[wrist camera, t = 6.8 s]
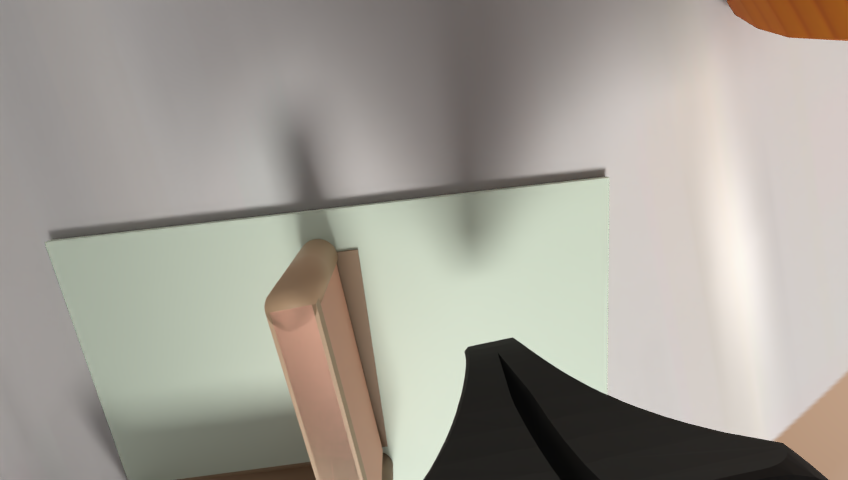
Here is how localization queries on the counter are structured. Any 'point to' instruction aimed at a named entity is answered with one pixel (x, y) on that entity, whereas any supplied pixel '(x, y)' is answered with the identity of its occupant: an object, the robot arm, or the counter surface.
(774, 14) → the carrot
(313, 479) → the fence fixed
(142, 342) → the card
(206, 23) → the counter surface
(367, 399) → the hinged panel
